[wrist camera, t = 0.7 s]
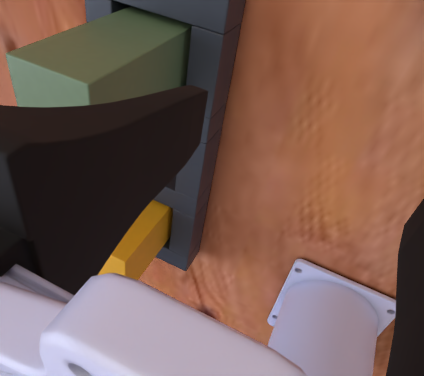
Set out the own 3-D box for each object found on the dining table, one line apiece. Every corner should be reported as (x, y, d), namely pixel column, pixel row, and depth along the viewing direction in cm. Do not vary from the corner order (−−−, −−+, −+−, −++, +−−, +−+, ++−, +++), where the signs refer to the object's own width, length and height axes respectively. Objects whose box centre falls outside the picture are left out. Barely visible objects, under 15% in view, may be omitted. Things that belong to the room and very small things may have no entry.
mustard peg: (179, 225, 32) (125, 296, 27) (139, 207, 33) (79, 272, 27) (183, 191, 30) (125, 262, 24) (140, 173, 30) (74, 237, 25)
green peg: (196, 85, 24) (95, 168, 16) (142, 66, 24) (23, 136, 17) (204, 19, 21) (88, 84, 14) (143, 0, 22) (4, 52, 15)
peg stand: (198, 251, 33) (186, 271, 31) (119, 214, 35) (103, 231, 33) (248, -14, 19) (230, -5, 17) (110, -52, 21) (80, -47, 19)
